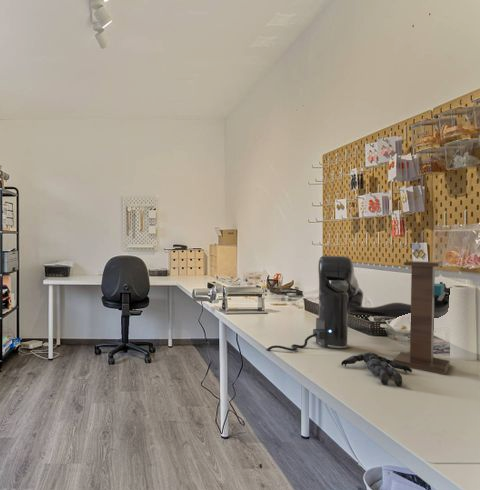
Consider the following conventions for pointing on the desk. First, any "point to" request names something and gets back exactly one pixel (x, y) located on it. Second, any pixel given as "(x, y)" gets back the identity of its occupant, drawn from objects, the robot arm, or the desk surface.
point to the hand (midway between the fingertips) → (431, 283)
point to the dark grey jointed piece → (380, 366)
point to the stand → (422, 320)
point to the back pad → (439, 289)
